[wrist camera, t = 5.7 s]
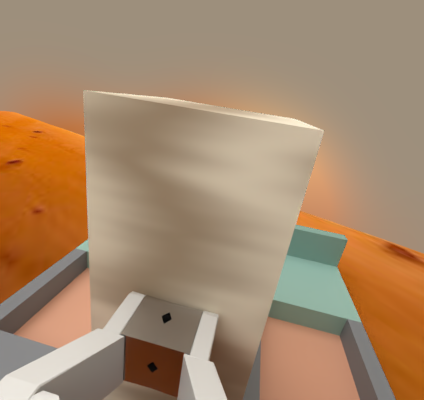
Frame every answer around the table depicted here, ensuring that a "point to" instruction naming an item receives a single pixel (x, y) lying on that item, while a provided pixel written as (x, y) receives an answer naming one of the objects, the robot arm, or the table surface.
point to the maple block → (192, 215)
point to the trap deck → (270, 341)
